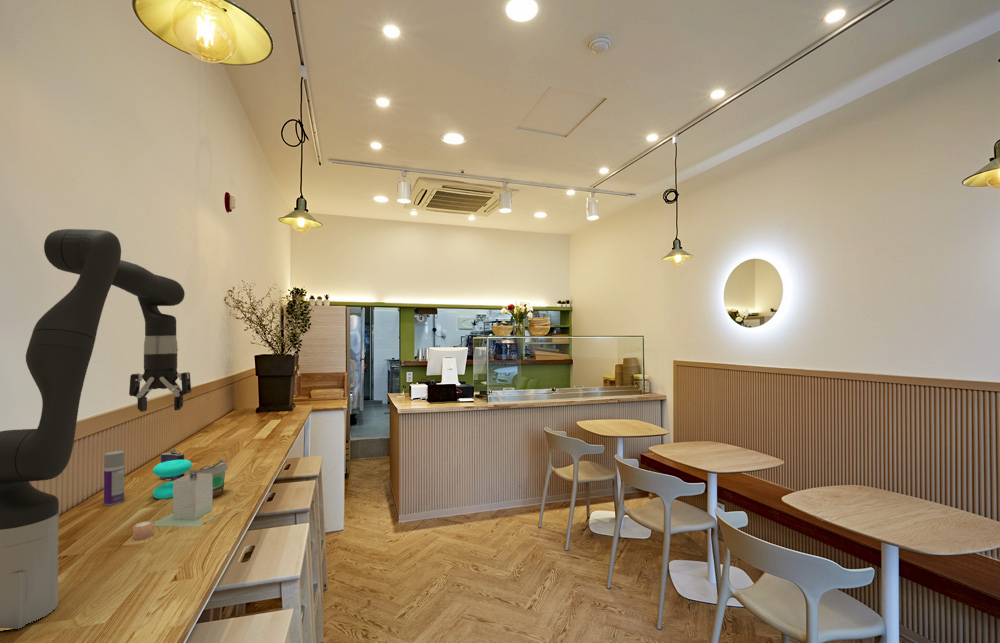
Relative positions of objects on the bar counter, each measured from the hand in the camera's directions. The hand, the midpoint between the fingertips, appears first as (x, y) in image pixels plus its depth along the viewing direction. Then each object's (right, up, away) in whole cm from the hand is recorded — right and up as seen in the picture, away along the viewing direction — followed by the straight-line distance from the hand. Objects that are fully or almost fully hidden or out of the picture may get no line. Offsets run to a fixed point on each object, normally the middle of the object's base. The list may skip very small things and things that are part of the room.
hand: (160, 410), depth 127 cm
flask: (-20, -31, +32) cm, 49 cm away
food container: (+6, -30, +14) cm, 33 cm away
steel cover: (+10, -29, -1) cm, 30 cm away
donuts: (-9, -30, +17) cm, 36 cm away
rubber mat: (+10, -29, -1) cm, 31 cm away
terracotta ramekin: (+6, -29, -14) cm, 33 cm away
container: (-22, -30, +10) cm, 39 cm away
